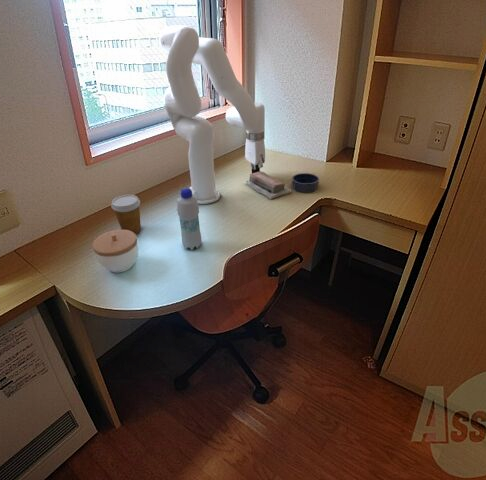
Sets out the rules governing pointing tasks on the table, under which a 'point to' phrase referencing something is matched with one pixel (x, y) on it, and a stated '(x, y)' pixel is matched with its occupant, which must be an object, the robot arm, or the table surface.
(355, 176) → the table surface
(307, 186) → the dark blue bowl
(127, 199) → the disposable coffee cup
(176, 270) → the table surface
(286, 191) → the butter dish
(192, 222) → the bottle
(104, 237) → the lidded bowl
